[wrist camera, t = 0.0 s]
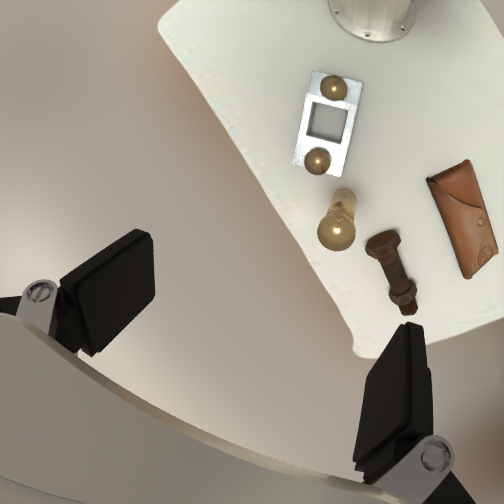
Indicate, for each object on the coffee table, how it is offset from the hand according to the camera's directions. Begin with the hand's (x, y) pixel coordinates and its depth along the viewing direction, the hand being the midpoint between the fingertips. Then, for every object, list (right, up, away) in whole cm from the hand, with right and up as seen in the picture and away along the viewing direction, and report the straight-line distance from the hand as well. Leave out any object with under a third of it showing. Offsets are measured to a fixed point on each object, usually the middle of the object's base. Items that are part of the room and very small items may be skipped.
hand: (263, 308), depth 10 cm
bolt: (+24, -1, +36) cm, 43 cm away
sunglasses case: (+33, +7, +27) cm, 44 cm away
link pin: (+14, +10, +34) cm, 38 cm away
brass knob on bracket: (+11, +21, +29) cm, 37 cm away
